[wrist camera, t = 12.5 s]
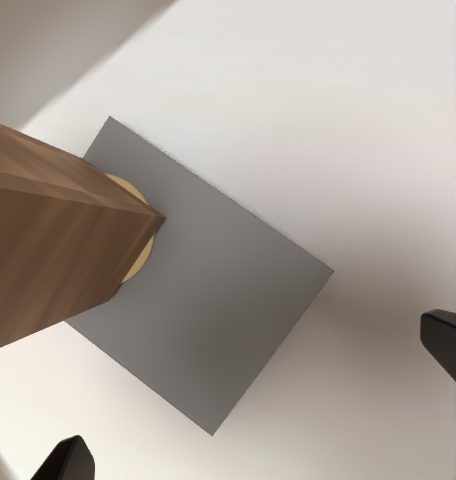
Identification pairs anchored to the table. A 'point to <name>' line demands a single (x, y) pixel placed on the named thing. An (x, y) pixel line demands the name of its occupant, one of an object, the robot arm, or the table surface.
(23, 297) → the wooden pencil cup
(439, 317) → the robot arm
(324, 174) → the table surface
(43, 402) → the table surface
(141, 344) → the post stand
